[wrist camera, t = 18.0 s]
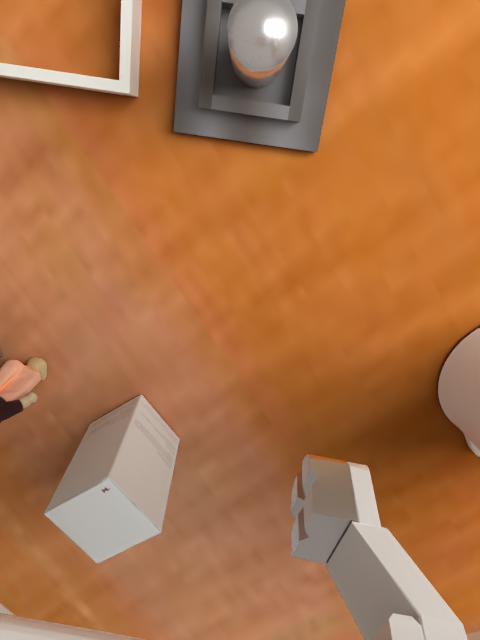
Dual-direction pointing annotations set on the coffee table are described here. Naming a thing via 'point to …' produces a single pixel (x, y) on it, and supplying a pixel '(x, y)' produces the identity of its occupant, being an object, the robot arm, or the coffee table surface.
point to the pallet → (247, 102)
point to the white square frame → (123, 86)
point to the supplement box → (117, 481)
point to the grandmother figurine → (19, 385)
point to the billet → (260, 39)
